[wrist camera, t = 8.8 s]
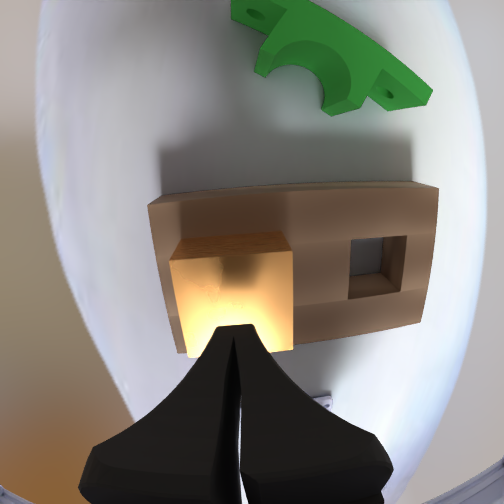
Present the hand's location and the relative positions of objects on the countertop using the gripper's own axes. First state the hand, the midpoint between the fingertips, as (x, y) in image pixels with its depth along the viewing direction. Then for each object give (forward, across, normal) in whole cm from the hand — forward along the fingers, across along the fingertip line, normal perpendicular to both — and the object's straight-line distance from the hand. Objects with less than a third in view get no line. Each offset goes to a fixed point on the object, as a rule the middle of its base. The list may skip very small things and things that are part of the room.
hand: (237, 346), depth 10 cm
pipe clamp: (+9, -5, -12) cm, 16 cm away
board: (+8, -4, 0) cm, 9 cm away
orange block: (+8, 0, 0) cm, 8 cm away
